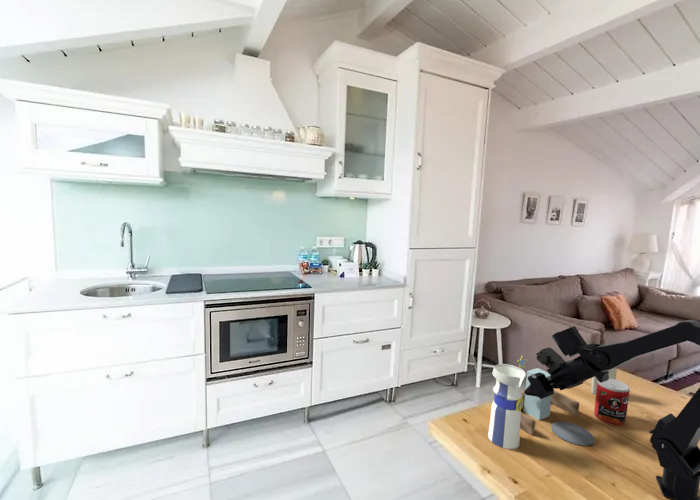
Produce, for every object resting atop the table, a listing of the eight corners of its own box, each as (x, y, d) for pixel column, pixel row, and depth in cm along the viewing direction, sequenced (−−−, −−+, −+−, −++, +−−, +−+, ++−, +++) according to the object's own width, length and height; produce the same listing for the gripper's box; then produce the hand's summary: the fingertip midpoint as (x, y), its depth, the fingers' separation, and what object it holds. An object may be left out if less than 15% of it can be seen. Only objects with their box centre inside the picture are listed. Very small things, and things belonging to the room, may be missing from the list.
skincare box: (612, 393, 118) (616, 359, 116) (614, 399, 114) (618, 364, 113) (590, 388, 121) (593, 355, 120) (591, 393, 117) (594, 359, 116)
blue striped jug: (527, 440, 91) (535, 350, 89) (513, 454, 86) (521, 358, 83) (496, 425, 97) (503, 340, 95) (481, 437, 92) (488, 348, 89)
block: (549, 416, 103) (553, 374, 102) (539, 420, 101) (543, 378, 99) (533, 407, 107) (537, 368, 106) (523, 411, 105) (527, 371, 104)
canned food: (596, 421, 101) (600, 386, 100) (591, 408, 108) (595, 375, 107) (628, 429, 97) (633, 393, 96) (622, 415, 104) (626, 381, 103)
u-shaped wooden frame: (578, 414, 104) (579, 402, 104) (531, 435, 94) (532, 421, 93) (542, 397, 114) (543, 385, 113) (496, 413, 103) (497, 401, 103)
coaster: (596, 450, 88) (596, 449, 88) (551, 437, 93) (551, 435, 93) (592, 430, 97) (592, 429, 97) (551, 418, 102) (551, 417, 102)
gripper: (576, 338, 102) (538, 359, 113) (537, 348, 93) (499, 369, 104) (603, 375, 96) (559, 393, 107) (563, 389, 87) (520, 407, 98)
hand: (534, 389), depth 104 cm, fingers open, 9 cm apart
